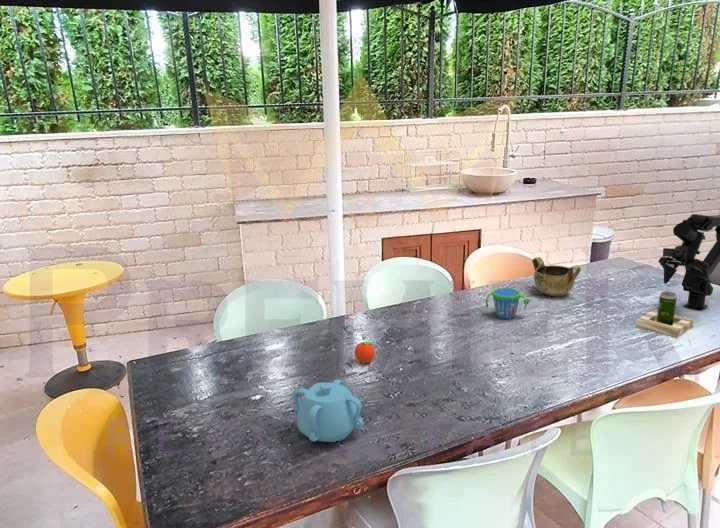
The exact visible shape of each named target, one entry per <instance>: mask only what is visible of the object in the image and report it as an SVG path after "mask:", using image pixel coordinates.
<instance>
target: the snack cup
mask: <svg viewBox="0 0 720 528" xmlns="http://www.w3.org/2000/svg"><path fill="white" fill-rule="evenodd" d="M490 296H492V299H493V302H494V303H493V304H494V308H495V316H496V317H498V318H500V319H503V320H507V319H509V320H511V319H513V318H515V317H516V316H517V311H518V307H519V306H518V305H519V299H520V298H522V299H524V311H526V309H527V305H528V301H527V297H526V296H525V294H524V293H523V294H522V293H521V292H520V290H518V289H515V288H509V287H502V288H496V289H494V290H493V291H491V292H489V293H488V294H487V296H486V299H485V306H486V308H489V303H488V302H489V301H488V298H490Z"/></svg>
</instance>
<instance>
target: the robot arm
mask: <svg viewBox="0 0 720 528" xmlns="http://www.w3.org/2000/svg"><path fill="white" fill-rule="evenodd" d="M713 228H714V231H715V233H716V234H715V238H716V241H715V243H714V244H713V246H712V247H711V249H710V250H709V251H708V253H707V254H706V256H705V257H704V259H702V260H701V259H699V258H696V256H697V255H700V254H701V251H700V250H699V249H700V247H701V244H702V243H703V242H702V241H703V240H706V236H705V232H709V231H711V230H713ZM672 231H673V234H674V236H676V237H677V238H678V239H679V240H681V245H677V246H675V247H674V248H669V247H667V248H666V247H663V248H662V249H663V250H662V256H660V258H659V259H658V263H659V264H660V266H661V267H662V268H663V284H665V285H667V284H668V283H669V281H670V280H671V279H672V278H673V276H674V275H675V274H676V272H677V271H678V269H677V268H679V266H680V267H684V269H685V273H684V275H683V278H682V281H681V286H682V290H683V292H688V295H687V301H686V302H687V303H685V304H683V308H688V309H692V310H696V311H701V312H702V311H703V310H705V309H706V308H708V305H707V304H705V302H706V298H707V296H708V297H711V296H712V294H713V292H714V288H713V287H714V286H712V284H711V283H712V281H711V280H712V279H711V275H712V274H713V272H714V270H715V269H716V267H717V266H718V265H719V263H720V214H717V215H715V214H714V215H704V214H696V213H693V214H691V215H690V216H689V217H688V218H686V219H683V220H682V222H679V223H677V224H676V225H675V226H673V230H672ZM700 231H701V232H700ZM702 231H703V232H702Z"/></svg>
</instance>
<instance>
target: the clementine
mask: <svg viewBox="0 0 720 528" xmlns="http://www.w3.org/2000/svg"><path fill="white" fill-rule="evenodd" d="M372 344H373V345H372ZM374 345H375V343H374V342H372V341H361V342H359V343H358V344H356V346H355V347H354V350H353V351H354V353H353V354H354V357H355V359H356V361H358V362H360V363H362V362H367V363H369V362H368V361H370V362H371V361H372V360H373V359H374V357H375V355H376V351H375V348H374ZM375 346H376V347H377V345H375Z"/></svg>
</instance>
